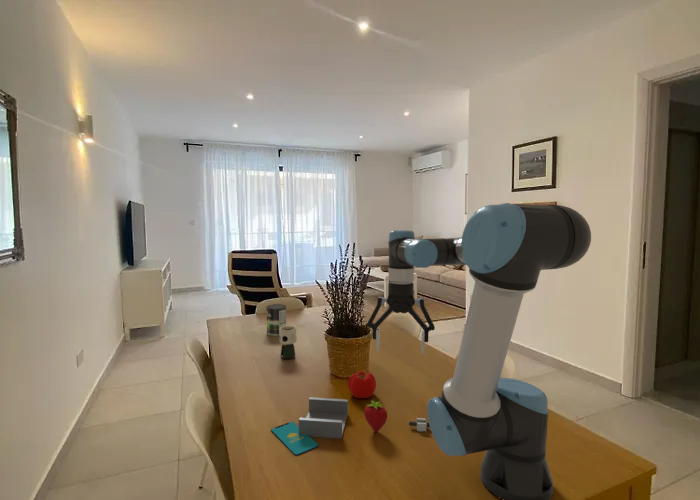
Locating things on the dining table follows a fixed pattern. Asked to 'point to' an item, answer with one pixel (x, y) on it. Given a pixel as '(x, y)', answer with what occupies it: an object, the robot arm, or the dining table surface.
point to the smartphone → (294, 438)
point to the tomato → (362, 384)
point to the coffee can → (275, 318)
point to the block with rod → (420, 424)
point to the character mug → (287, 341)
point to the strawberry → (375, 415)
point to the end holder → (324, 418)
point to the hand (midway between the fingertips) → (400, 351)
